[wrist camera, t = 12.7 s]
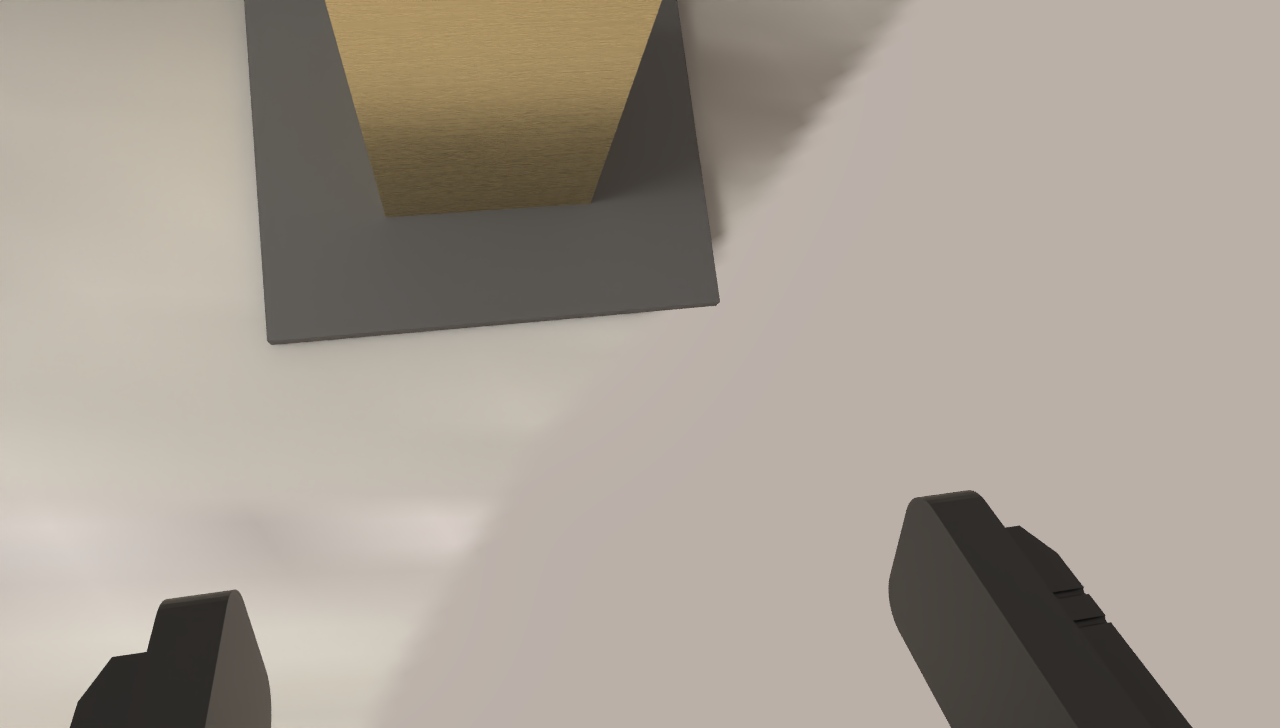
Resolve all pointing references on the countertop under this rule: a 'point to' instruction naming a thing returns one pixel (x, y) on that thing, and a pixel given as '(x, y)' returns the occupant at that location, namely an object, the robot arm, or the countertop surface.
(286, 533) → the countertop surface
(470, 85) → the wooden square peg
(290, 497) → the countertop surface
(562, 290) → the rubber mat
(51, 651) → the countertop surface
